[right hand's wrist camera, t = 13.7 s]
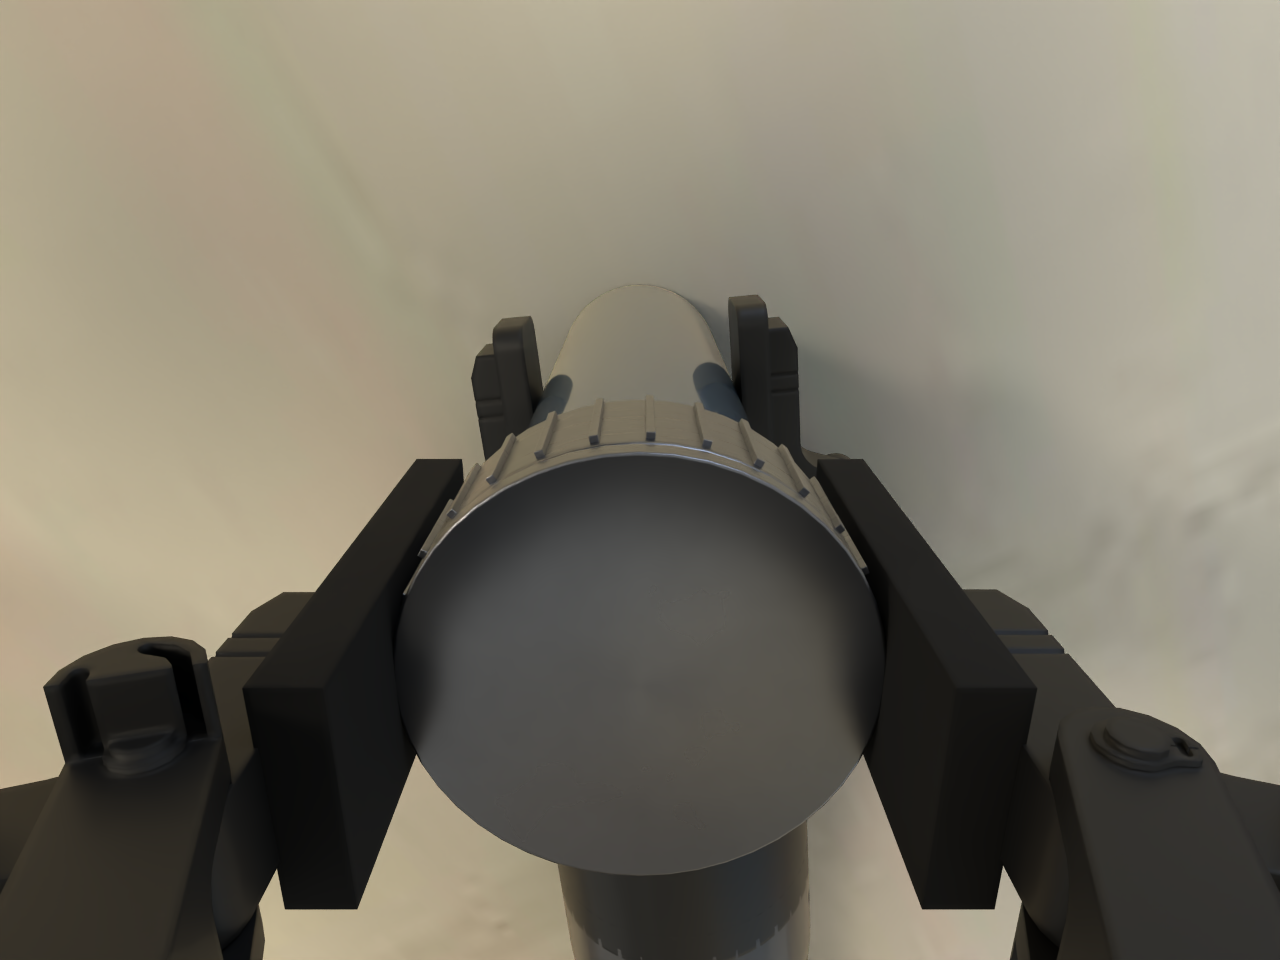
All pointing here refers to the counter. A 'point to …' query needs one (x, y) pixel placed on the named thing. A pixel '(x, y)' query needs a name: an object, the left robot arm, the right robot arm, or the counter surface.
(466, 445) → the counter surface
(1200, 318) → the counter surface
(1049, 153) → the counter surface
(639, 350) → the jar
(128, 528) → the counter surface
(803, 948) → the left robot arm
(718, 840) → the lid
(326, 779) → the right robot arm
